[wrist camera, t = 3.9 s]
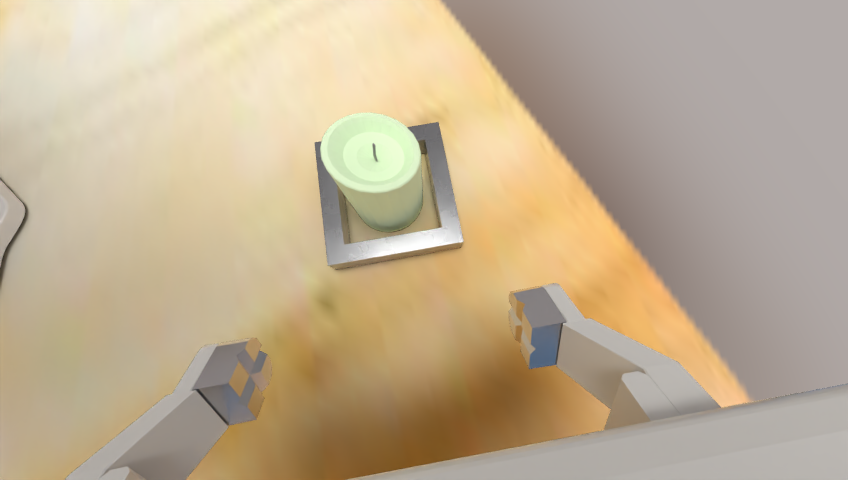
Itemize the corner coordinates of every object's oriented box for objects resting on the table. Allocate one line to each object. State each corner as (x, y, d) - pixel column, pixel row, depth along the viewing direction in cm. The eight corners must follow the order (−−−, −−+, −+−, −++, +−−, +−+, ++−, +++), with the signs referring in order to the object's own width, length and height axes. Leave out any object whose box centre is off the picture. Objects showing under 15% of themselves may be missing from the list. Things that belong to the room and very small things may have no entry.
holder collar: (460, 247, 22) (463, 241, 20) (336, 269, 22) (327, 265, 20) (437, 137, 24) (438, 122, 23) (323, 156, 24) (314, 142, 22)
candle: (399, 157, 24) (384, 81, 16) (436, 208, 23) (440, 153, 15) (343, 192, 24) (300, 130, 16) (379, 245, 23) (352, 209, 15)
